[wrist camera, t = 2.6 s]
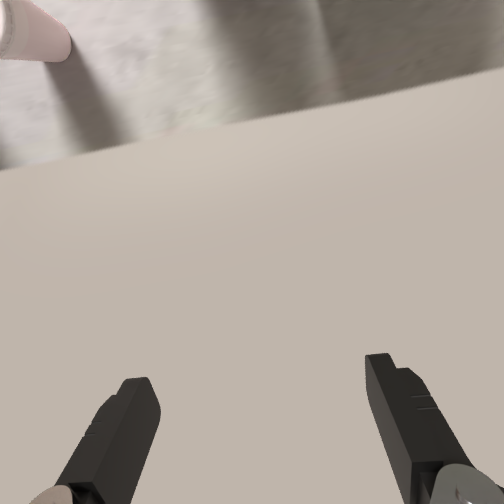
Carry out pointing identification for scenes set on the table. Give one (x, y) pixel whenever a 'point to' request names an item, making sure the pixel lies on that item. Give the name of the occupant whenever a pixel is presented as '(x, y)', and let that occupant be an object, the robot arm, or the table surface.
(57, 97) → the table surface
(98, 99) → the table surface
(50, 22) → the smoothie
